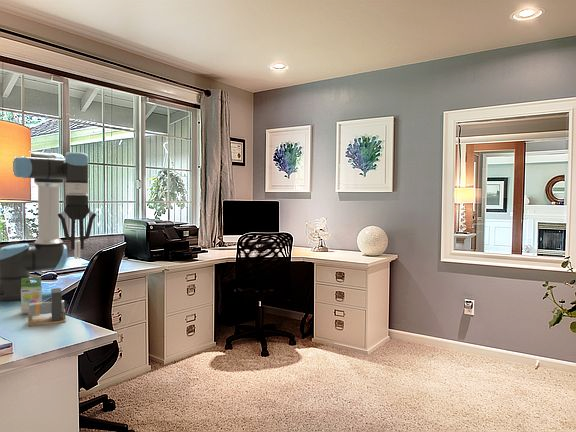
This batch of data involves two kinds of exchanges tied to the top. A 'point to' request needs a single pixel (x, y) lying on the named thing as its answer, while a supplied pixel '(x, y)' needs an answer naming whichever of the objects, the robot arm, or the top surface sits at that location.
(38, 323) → the board
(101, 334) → the top surface
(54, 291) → the grey upright block
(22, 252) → the robot arm
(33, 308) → the pipe
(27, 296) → the ink box
